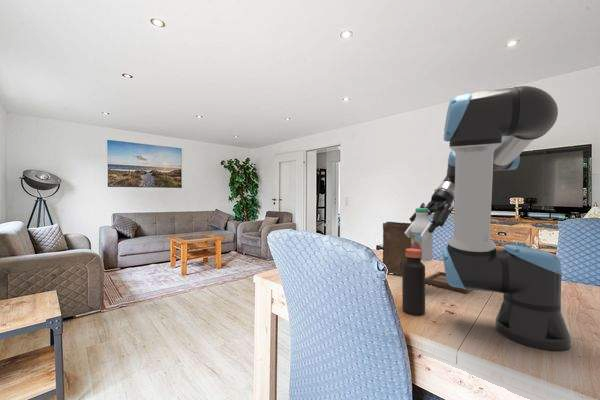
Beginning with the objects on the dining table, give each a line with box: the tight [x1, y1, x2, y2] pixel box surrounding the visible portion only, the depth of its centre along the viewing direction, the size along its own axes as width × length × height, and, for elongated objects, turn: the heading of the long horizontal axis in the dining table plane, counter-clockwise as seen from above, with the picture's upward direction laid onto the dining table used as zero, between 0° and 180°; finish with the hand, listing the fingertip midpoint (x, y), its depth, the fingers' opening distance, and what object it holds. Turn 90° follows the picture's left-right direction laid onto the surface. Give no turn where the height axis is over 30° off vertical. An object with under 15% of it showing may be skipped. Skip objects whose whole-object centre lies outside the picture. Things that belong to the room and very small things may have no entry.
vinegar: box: [401, 248, 426, 316], centre depth 87 cm, size 7×7×20 cm
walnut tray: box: [425, 271, 473, 295], centre depth 113 cm, size 16×16×2 cm
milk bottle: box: [411, 207, 434, 262], centre depth 104 cm, size 8×8×20 cm
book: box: [382, 221, 411, 276], centre depth 127 cm, size 17×7×25 cm, turn 51°
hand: (414, 236), depth 103 cm, fingers closed on milk bottle, 7 cm apart
